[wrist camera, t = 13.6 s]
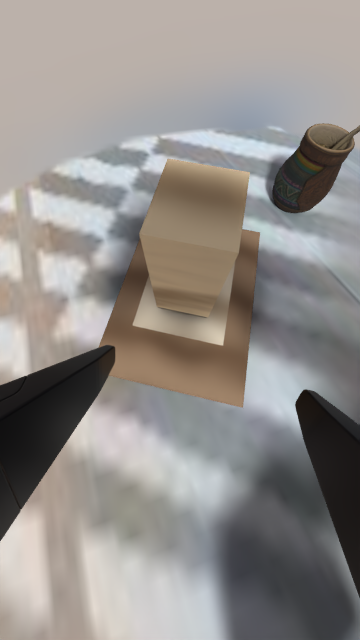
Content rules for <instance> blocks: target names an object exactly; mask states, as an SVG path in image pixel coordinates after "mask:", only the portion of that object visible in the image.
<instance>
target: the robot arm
mask: <svg viewBox="0 0 360 640" xmlns="http://www.w3.org/2000/svg"><path fill="white" fill-rule="evenodd" d="M115 350H116V349H115V347H114V346H111V345H104V346H102V347H99V348H97V349H94V350H91V351H89V352H86V353H84V354H81V355H78V356H76V357H73V358H71V359H68V360H66V361H63V362H60V363H58V364H55V365H53V366H50V367H47V368H45V369H42V370H40V371H37V372H34V373H32V374H29V375H28V376H24V377H21V378H19V379H16V380H14V381H11V382H8V383H5V384H3V385H0V541H1V540H2V538H3V537H4V535H5V534H6V532H7V531H8V529H9V528H10V526H11V525H12V523H13V522H14V520H15V519H16V517H17V516H18V514H19V513H20V511H21V510H20V509H22V508H23V506H24V505H25V503H26V502H27V500H28V499H29V497H30V496H31V494H32V493H33V491H34V490H35V488H36V487H37V485H38V484H39V482H40V481H41V479H42V478H43V476H44V475H45V473H46V472H47V470H48V469H49V467H50V466H51V464H52V463H53V461H54V460H55V458H56V457H57V455H58V454H59V452H60V451H61V449H62V448H63V446H64V445H65V443H66V442H67V440H68V439H69V437H70V436H71V434H72V433H73V431H74V430H75V428H76V427H77V425H78V424H79V422H80V421H81V420H82V418H83V417H84V415H85V414H86V412H87V411H88V409H89V408H90V406H91V405H92V403H93V402H94V400H95V399H96V397H97V396H98V394H99V392H100V391H101V389H102V387H103V385H104V383H105V381H106V379H107V377H108V375H109V374H110V372H111V370H112V368H113V366H114V364H115ZM295 406H296V411H297V415H298V419H299V423H300V427H301V431H302V435H303V439H304V442H305V445H306V448H307V451H308V454H309V457H310V459H311V462H312V465H313V468H314V471H315V473H316V476H317V479H318V482H319V485H320V488H321V490H322V493H323V496H324V499H325V502H326V504H327V507H328V510H329V513H330V516H331V519H332V521H333V524H334V527H335V530H336V533H337V535H338V538H339V541H340V544H341V547H342V550H343V552H344V555H345V558H346V561H347V564H348V566H349V569H350V572H351V575H352V578H353V581H354V583H355V586H356V589H357V592H358V595H359V597H360V425H359V424H357V423H356V422H355V421H353V420H352V419H351V418H349V417H348V416H347V415H345V414H344V413H343V412H341V411H340V410H339V409H337V408H336V407H335V406H333V405H332V404H331V403H329V402H328V401H327V400H325V399H324V398H323V397H321V396H320V395H319V394H317V393H316V392H314V391H311V390H303V391H302V393H301V394H300V396H299V398H298V399H297V401H296V404H295Z"/></svg>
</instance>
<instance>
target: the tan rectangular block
mask: <svg viewBox="0 0 360 640" xmlns="http://www.w3.org/2000/svg"><path fill="white" fill-rule="evenodd" d="M249 174H250V172H244V171H238V170H232V169H226V168H221V167H215V166H209V165H203V164H197V163H191V162H185V161H179V160H173V159H167V162H166V165H165V167H164V170H163V173H162V175H161V178H160V180H159V183H158V186H157V188H156V191H155V194H154V196H153V199H152V202H151V204H150V207H149V209H148V212H147V215H146V217H145V220H144V223H143V225H142V228H141V231H140V233H139V235H140V239H141V243H142V248H143V252H144V256H145V260H146V264H147V268H148V272H149V276H150V281H151V285H152V289H153V293H154V297H155V301H156V305H157V307H158V308H161V309H166V310H171V311H176V312H180V313H185V314H190V315H194V316H199V317H204V318H208V317H209V315H210V312H211V310H212V308H213V306H214V304H215V302H216V300H217V298H218V296H219V294H220V291H221V289H222V287H223V285H224V283H225V281H226V279H227V277H228V275H229V273H230V270H231V268H232V266H233V264H234V262H235V260H236V258H237V256H238V254H239V248H240V240H241V233H242V226H243V218H244V211H245V204H246V196H247V189H248V182H249Z"/></svg>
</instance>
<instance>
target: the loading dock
mask: <svg viewBox="0 0 360 640" xmlns="http://www.w3.org/2000/svg"><path fill="white" fill-rule="evenodd" d="M259 237H260V233H259V232H254V231H249V230H243V229H242V233H241V240H240V248H239V254H238V256H237V258H236V260H235V262H234V264H233V266H232V268H231V270H230V273H229V275H228V277H227V279H226V281H225V283H224V285H223V287H222V289H221V291H220V294H219V296H218V298H217V300H216V302H215V304H214V306H213V308H212V310H211V312H210V315H209V317H208V318H204V317H199V316H194V315H190V314H185V313H180V312H176V311H171V310H166V309H161V308H158V307H157V305H156V301H155V297H154V293H153V289H152V285H151V281H150V276H149V272H148V268H147V264H146V260H145V256H144V252H143V248H142V243H141V239H139V242H138V245H137V247H136V250H135V253H134V255H133V258H132V261H131V263H130V266H129V269H128V271H127V274H126V276H125V279H124V282H123V284H122V287H121V290H120V292H119V295H118V298H117V300H116V303H115V305H114V308H113V311H112V313H111V316H110V319H109V321H108V324H107V327H106V329H105V332H104V334H103V337H102V340H101V342H100V345H99V347H102V346H104V345H111V346H114V347H115V349H116V350H115V364H114V366H113V368H112V370H111V372H110V374H109V376H113V377H118V378H122V379H126V380H130V381H134V382H138V383H143V384H147V385H151V386H155V387H159V388H163V389H167V390H172V391H176V392H180V393H184V394H188V395H192V396H197V397H201V398H205V399H209V400H213V401H217V402H221V403H226V404H230V405H234V406H238V407H242V408H243V401H244V391H245V380H246V370H247V360H248V350H249V339H250V329H251V319H252V309H253V299H254V288H255V278H256V268H257V258H258V248H259Z"/></svg>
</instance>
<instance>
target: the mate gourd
mask: <svg viewBox="0 0 360 640" xmlns="http://www.w3.org/2000/svg"><path fill="white" fill-rule="evenodd" d="M359 131H360V126H359V127H357V128H356V129H355V130H353V131H351V132H350V133H349V132H348V131H346V130H345V129H343V128H341V127H338V126H336V125H332V124H317V125H314V126H311V127H310V128H309V129H307V131H306V133H305V135H304V137H303V139H302V141H301V143H300V146H299V147H298V149H297V150H296V151H295V152H294V154H293V155H292V156H291V157H290V158H289V159H287V160H286V162H285V163H284V164H283V166H282V167H281V168H280V170H279V172H278V174H277V176H276V179H275V183H274V186H273V198H274V201H275V203H276V205H277V206H278V207H279V208H280V209H282V210H283V211H286V212H290V213H300V212H305V211H308V210H310V209H312V208H313V207H314V206H315V205H317V204H318V203H319V202H320V201H321V200H322V199H323V198H324V197H325V196H326V195H327V194H328V192H329V191H330V189H331V188H332V186H333V184H334V182H335V180H336V177H337V175H338V172H339V171H340V168H341V165H342V163H343V162H344V160H345V159H346V158H347V156H348V154H349V153H350V152H351V151H352V149H353V148H354V145H355V143H354V139H353V136H354V135H355V134H357V133H358V132H359Z"/></svg>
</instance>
